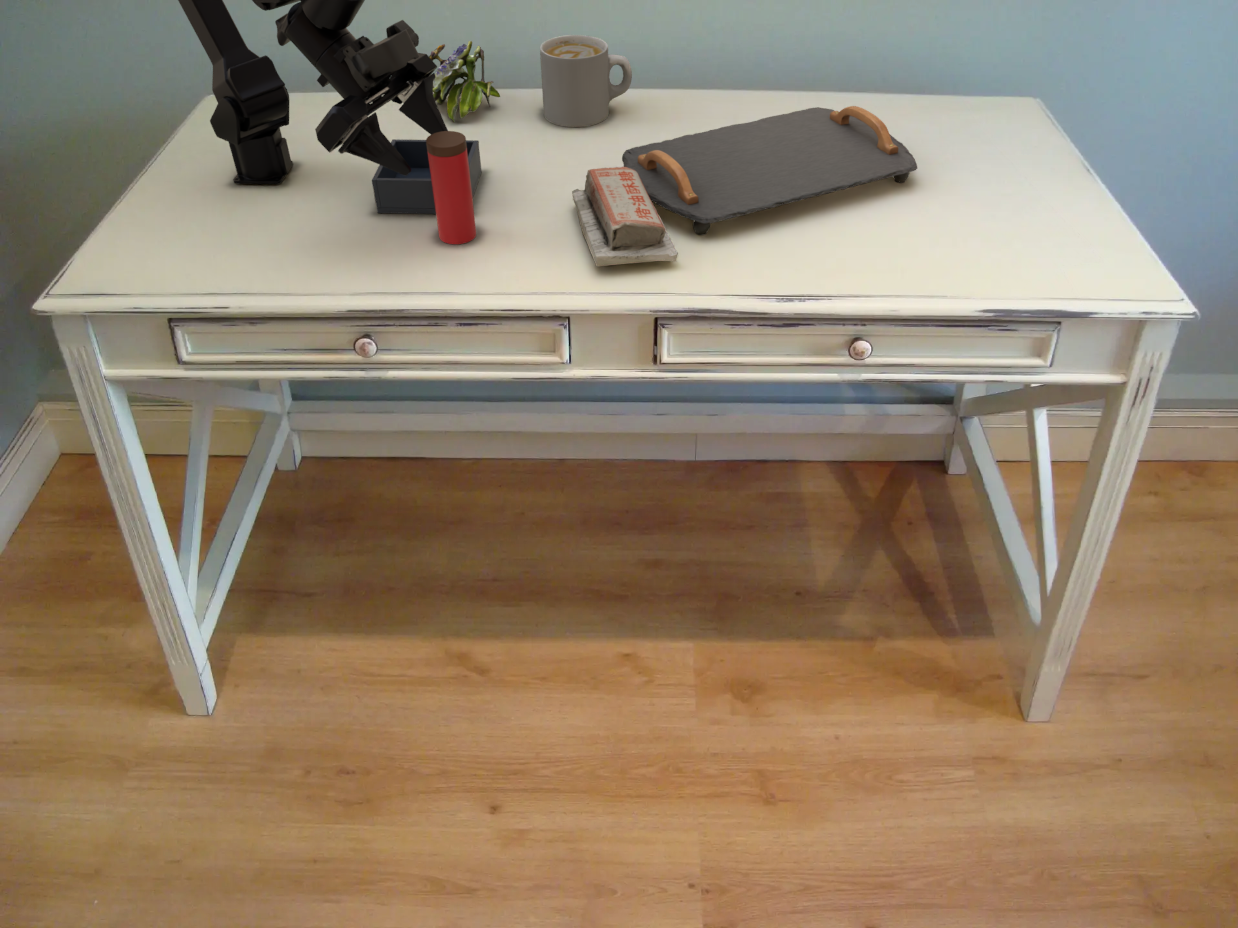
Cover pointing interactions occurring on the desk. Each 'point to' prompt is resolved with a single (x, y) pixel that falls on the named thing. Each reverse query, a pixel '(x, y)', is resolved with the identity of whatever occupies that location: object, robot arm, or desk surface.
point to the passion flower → (468, 88)
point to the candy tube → (451, 186)
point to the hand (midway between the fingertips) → (429, 157)
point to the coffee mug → (579, 80)
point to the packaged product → (621, 219)
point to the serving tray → (768, 163)
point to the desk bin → (415, 179)
